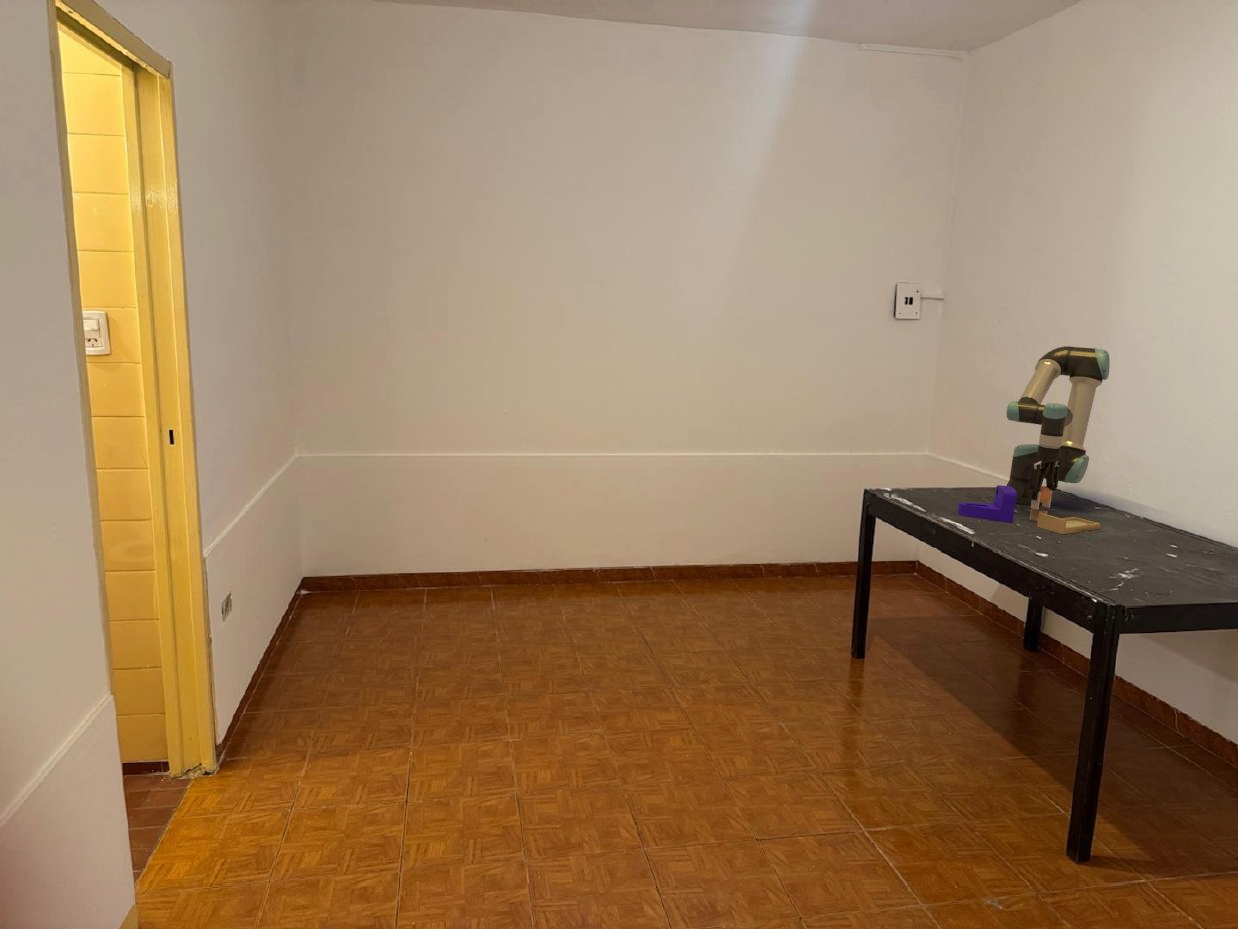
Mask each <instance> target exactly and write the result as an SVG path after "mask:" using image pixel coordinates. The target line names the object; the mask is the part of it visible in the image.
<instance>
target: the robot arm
mask: <svg viewBox="0 0 1238 929" xmlns="http://www.w3.org/2000/svg"><path fill="white" fill-rule="evenodd" d="M1110 362H1111V361H1110V354H1109V352H1108V350H1106V349H1103V348H1096V347H1095V348H1094V347H1091V348H1090V347H1078V346H1068V345H1067V346H1060V347H1056V348H1053V349H1051V350H1049V351H1048V352H1046V353H1045V354H1043V356H1041V358H1039V360H1038V361H1037V362H1036V365H1035V366H1034V371H1035V372H1034V373H1033V375H1032V377H1031V378H1030V380H1029V382H1028V384H1027V386H1026V387H1025V389H1024V391H1023V393H1022V394H1021V396H1020V398H1019V399H1018V400H1016V401H1015V400H1014V401H1009V403H1008V404H1007V408H1006V419H1007V420H1008V421H1011V422H1017V423H1025V424H1033V425H1038V426H1041V427H1040V435H1039V438H1038V439H1039V440H1038V444H1035V443H1034V444H1033V443H1032V444H1031V443H1030V444H1028V443H1027V444H1018V445H1016V446H1015V447H1014V450H1013V454H1012V461H1011V466H1010V467H1011V468H1010V473H1009V480H1008V482H1007V484H1006V486H1011V487H1012V488H1014V489H1015V490H1016V493H1017V496H1016V503H1015V504H1021V505H1030V508H1031V509H1037V510H1038V509H1040V505H1041V506H1042V507H1045V508H1047V509H1048V508H1049V509H1050V508H1051V502H1052V498H1053V492H1054V491H1057V488H1058V486H1059V482H1062V483H1066V484H1078V483H1080V482H1082V479H1083V478H1084V476H1085V475H1086V472H1087V469H1088V466H1089V461H1090V457H1089V455H1088V454H1086V453H1087V450H1086V449H1085V447H1084V442H1085V438H1086V434H1087V430H1088V425H1089V422H1090V421H1089V420H1090V417H1091V413H1092V409H1093V408H1092V407H1093V403H1094V400H1095V395H1096V390H1097V388H1098V387H1099V386H1101V385H1102V384H1103V381H1106V380H1108V379H1109V375H1110V364H1111V363H1110ZM1059 376H1065V377H1066V376H1067V377H1069V378H1068V380H1069V382H1070V383H1071V388H1070V392H1069V397H1068V401H1067V405H1065V404H1064V403H1054V402H1051V403H1050V402H1048V403H1046V404H1042V402H1043V400H1044V398H1045V397H1046V395H1047V393H1048V392H1049V389H1050V388H1051V386H1052V384H1053V383H1054V381H1055V380H1056V379H1057V378H1059ZM1044 480H1045V484H1046V486H1045V487H1047V488H1049V489H1050V491H1051V498H1050V499H1049V500H1048V501H1047V502H1040V496H1041V492H1039V491H1040V489H1041V486H1043V482H1044Z"/></svg>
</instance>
